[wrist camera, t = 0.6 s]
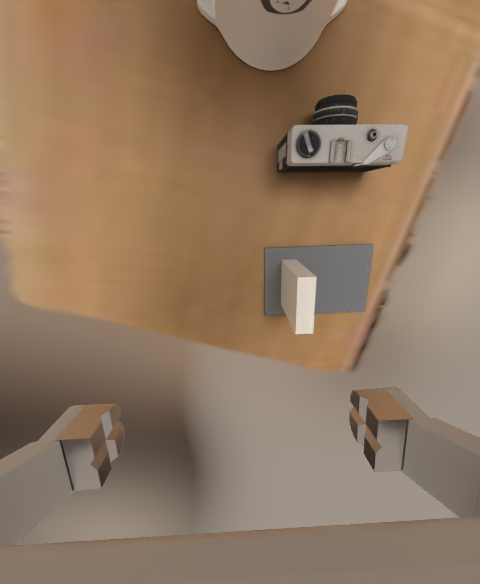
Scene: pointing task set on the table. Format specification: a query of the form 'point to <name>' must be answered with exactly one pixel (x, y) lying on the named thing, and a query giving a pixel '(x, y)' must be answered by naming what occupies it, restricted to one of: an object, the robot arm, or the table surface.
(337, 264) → the mat
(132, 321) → the table surface
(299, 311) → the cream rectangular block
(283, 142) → the camera
